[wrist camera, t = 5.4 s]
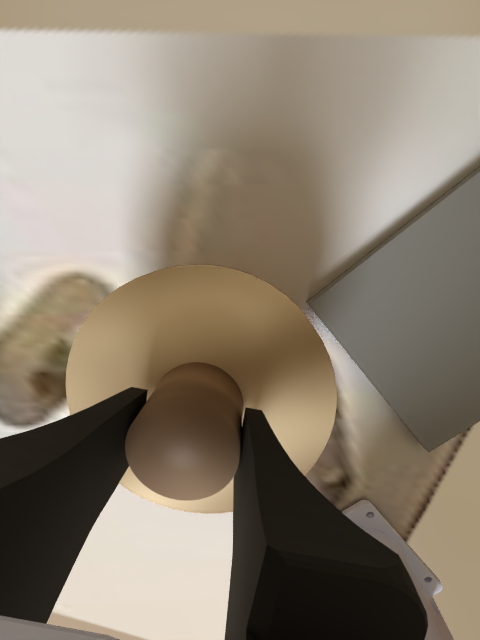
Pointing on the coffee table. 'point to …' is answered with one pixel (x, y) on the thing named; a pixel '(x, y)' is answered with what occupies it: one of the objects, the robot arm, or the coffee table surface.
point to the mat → (418, 316)
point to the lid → (203, 378)
